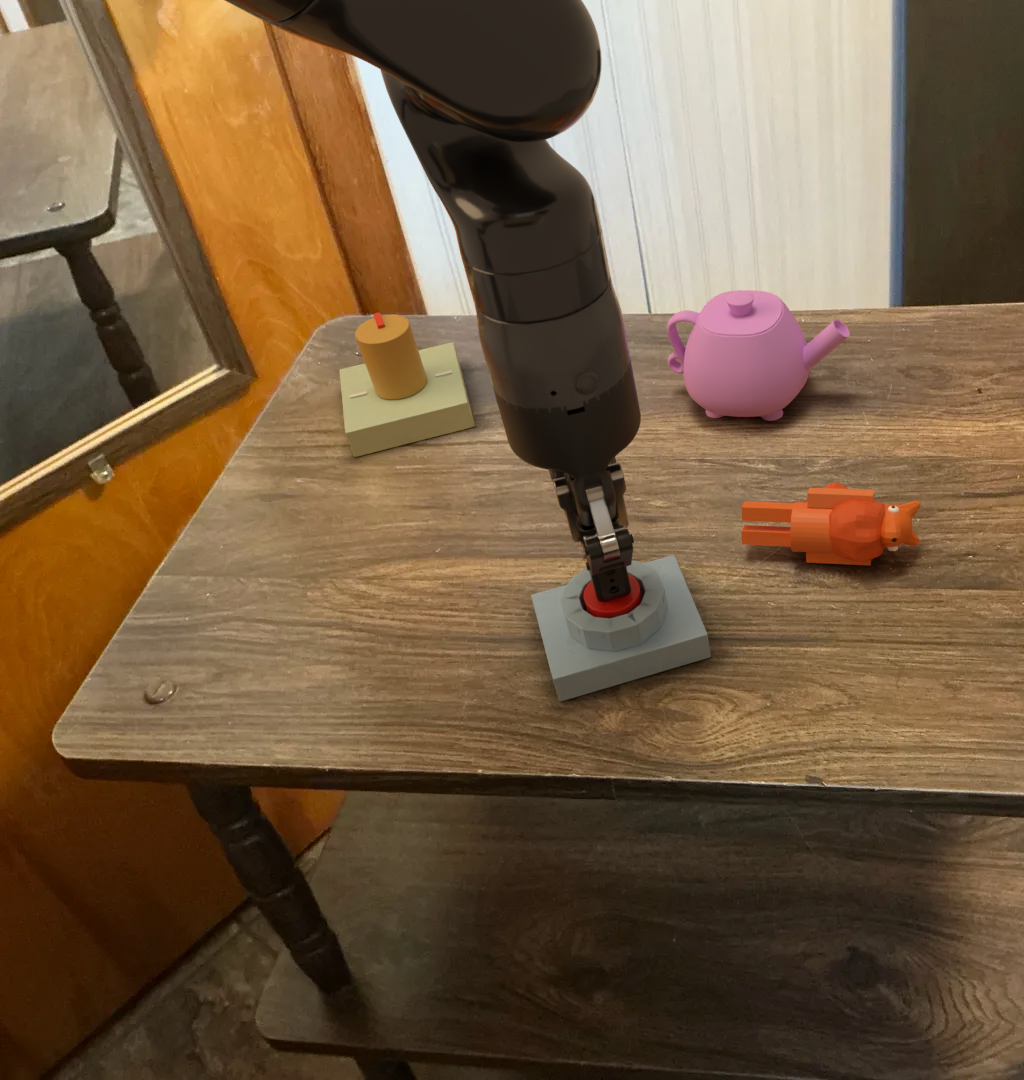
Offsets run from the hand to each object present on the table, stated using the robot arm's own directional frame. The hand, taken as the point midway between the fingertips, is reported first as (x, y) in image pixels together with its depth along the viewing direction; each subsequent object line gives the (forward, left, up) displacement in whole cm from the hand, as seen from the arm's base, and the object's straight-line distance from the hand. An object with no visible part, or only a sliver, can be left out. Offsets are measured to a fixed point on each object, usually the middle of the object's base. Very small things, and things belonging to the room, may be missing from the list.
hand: (612, 591), depth 72 cm
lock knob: (-11, +33, -2) cm, 35 cm away
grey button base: (0, 0, -4) cm, 4 cm away
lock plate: (-11, +33, -4) cm, 35 cm away
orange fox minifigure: (+16, +3, -4) cm, 17 cm away
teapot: (+17, +22, -4) cm, 28 cm away
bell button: (0, 0, -2) cm, 2 cm away
